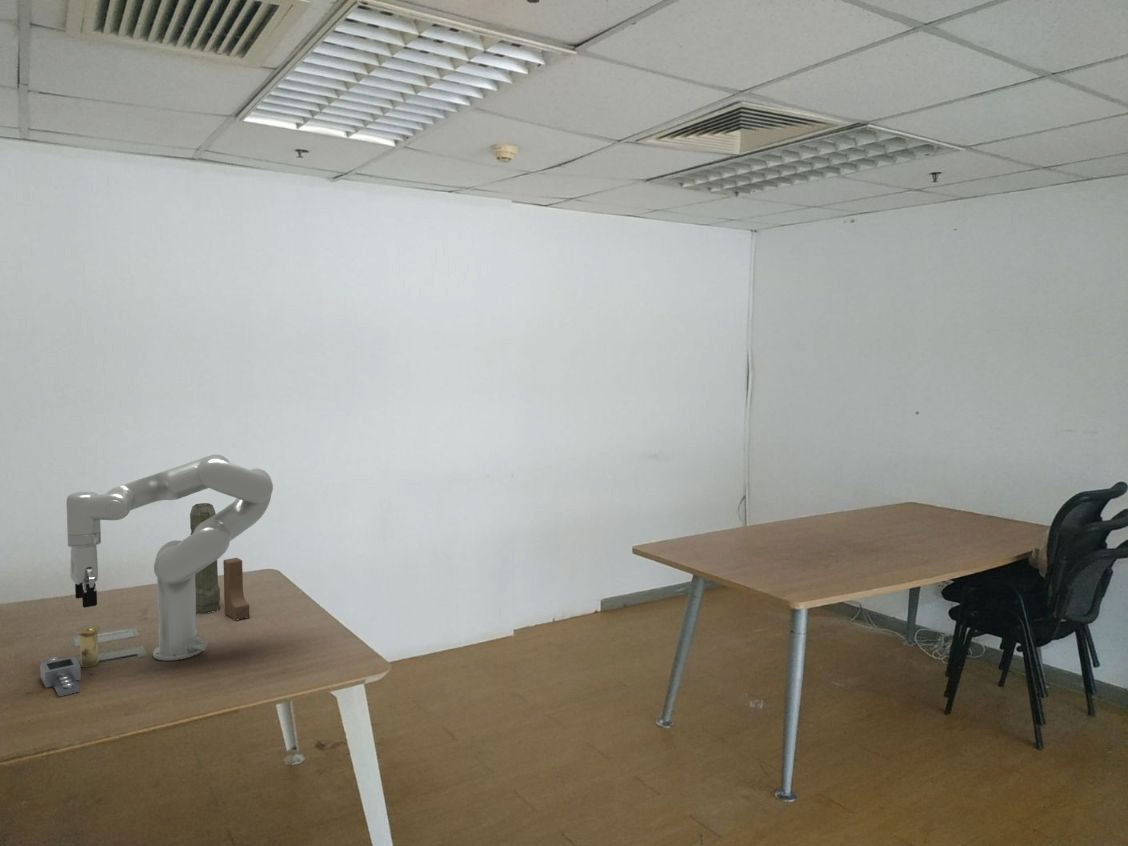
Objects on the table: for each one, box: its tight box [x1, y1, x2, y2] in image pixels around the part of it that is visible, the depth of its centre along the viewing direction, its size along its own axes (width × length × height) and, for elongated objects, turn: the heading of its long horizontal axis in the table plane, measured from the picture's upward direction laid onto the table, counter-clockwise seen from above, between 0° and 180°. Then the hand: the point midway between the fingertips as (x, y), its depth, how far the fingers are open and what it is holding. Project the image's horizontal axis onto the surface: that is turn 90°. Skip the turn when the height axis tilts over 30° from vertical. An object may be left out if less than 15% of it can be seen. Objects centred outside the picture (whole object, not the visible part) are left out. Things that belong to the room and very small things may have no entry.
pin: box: [76, 624, 100, 668], centre depth 207 cm, size 5×5×10 cm
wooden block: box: [222, 557, 250, 621], centre depth 247 cm, size 9×4×18 cm, turn 45°
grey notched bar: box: [39, 656, 82, 698], centre depth 198 cm, size 24×8×4 cm, turn 42°
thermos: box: [189, 502, 221, 614], centre depth 252 cm, size 9×12×35 cm
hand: (86, 601), depth 206 cm, fingers open, 9 cm apart
